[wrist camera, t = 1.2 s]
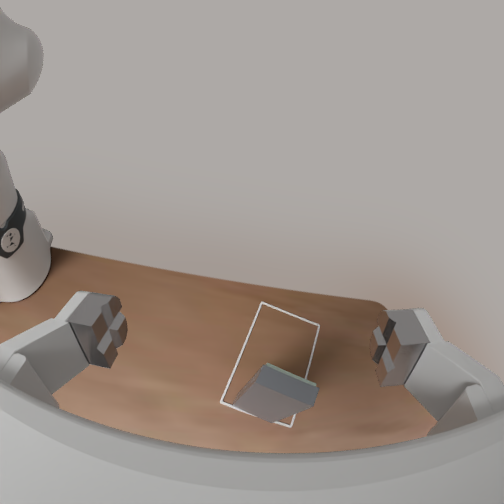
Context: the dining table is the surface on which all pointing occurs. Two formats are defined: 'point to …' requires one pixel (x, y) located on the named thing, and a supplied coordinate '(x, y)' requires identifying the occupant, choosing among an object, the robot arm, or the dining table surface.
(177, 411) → the dining table surface
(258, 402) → the tile
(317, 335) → the white wire frame
